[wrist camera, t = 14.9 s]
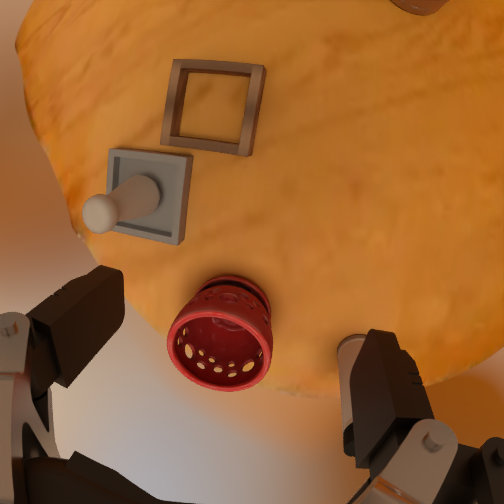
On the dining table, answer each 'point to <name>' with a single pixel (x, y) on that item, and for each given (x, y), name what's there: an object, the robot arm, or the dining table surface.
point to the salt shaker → (121, 204)
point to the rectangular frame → (177, 99)
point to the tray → (170, 186)
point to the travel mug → (348, 387)
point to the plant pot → (223, 334)
